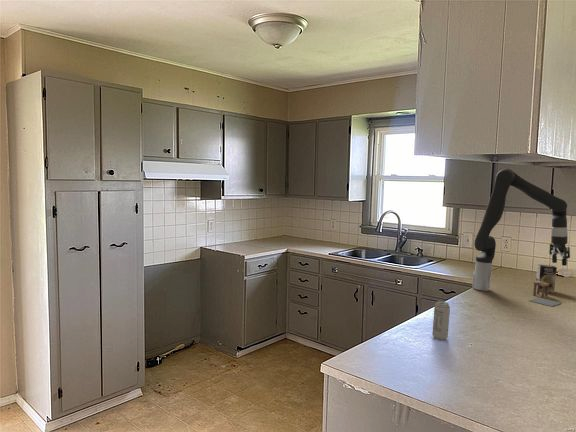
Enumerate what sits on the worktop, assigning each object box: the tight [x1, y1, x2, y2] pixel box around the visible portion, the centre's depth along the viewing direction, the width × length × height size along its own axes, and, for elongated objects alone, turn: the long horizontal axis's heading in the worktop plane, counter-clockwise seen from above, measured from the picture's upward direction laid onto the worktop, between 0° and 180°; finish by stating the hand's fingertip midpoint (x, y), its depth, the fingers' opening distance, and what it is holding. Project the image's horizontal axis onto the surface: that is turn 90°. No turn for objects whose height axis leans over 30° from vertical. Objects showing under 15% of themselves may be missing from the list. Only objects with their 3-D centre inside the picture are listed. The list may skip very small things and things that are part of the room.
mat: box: [528, 297, 562, 308], centre depth 236 cm, size 12×12×1 cm
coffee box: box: [535, 263, 558, 294], centre depth 262 cm, size 9×6×16 cm
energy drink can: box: [431, 300, 451, 341], centre depth 174 cm, size 6×6×15 cm
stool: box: [532, 280, 549, 298], centre depth 250 cm, size 6×6×8 cm
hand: (559, 264), depth 234 cm, fingers open, 8 cm apart
